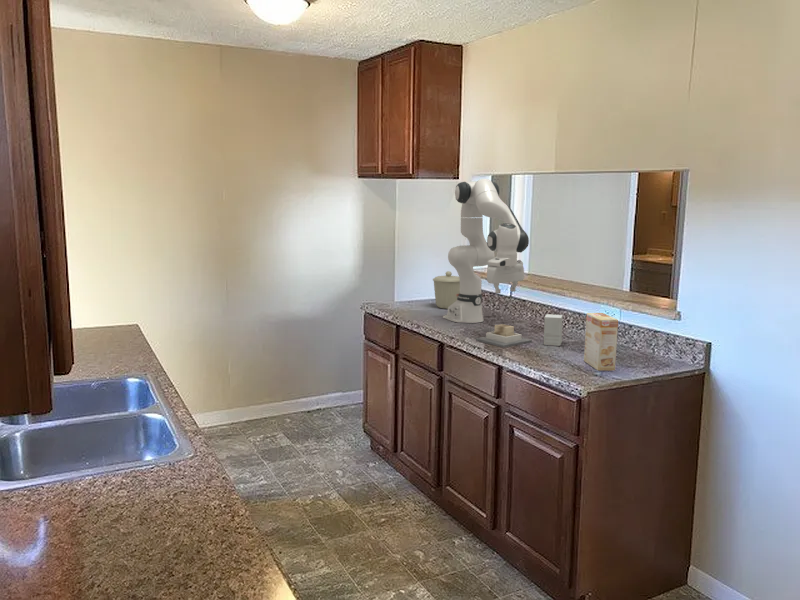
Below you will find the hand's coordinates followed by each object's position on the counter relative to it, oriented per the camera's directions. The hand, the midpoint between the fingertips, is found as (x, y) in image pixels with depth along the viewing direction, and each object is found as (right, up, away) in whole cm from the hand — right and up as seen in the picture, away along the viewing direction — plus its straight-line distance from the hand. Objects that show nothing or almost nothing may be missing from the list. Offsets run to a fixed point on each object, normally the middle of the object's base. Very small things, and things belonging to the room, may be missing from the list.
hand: (505, 292), depth 291 cm
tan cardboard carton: (0, -21, +3) cm, 21 cm away
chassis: (0, -22, +3) cm, 22 cm away
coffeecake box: (+30, -29, -37) cm, 56 cm away
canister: (-19, -8, +89) cm, 91 cm away
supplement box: (+21, -23, 0) cm, 31 cm away
